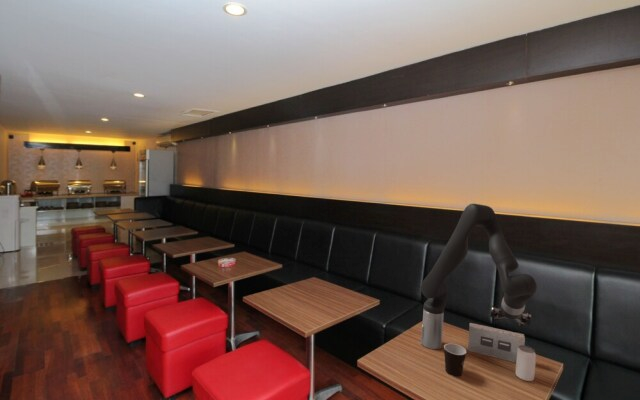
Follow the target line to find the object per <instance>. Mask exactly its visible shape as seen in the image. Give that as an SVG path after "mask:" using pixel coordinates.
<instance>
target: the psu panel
mask: <svg viewBox="0 0 640 400" xmlns="http://www.w3.org/2000/svg"><path fill="white" fill-rule="evenodd" d="M468 326H469V327H468V328H469V329H468V342H467V343H468V344H467V351H468V352H472V353H476V354H479V355H480V354H481V355H483V356H488V357H492V358H495V359H500V360H505V361H506V362H507V361H508V362H511V363H515V364H516V359H517V350H518V348H519V346H520V345H524V346H525V343H526V341H525V340H526V338H525V334H524V333H520V332H515V331H514V332H513V331H510V330H505V329H500V328H495V327H491V326H487V325H482V324H477V323H473V322H469V325H468Z"/></svg>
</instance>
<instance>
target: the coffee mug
mask: <svg viewBox="0 0 640 400" xmlns="http://www.w3.org/2000/svg"><path fill="white" fill-rule="evenodd" d="M443 349H444V365H445V372H446V374H448V375H449V376H452V377H455V378H457V377H458V378H459V377H461V376H462V375H463V369H464V366H465V362H466V356H467V350H466V348H465V347H464V346H461V345H460V344H456V343H446V344H444V345H443Z"/></svg>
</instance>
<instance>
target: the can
mask: <svg viewBox="0 0 640 400" xmlns="http://www.w3.org/2000/svg"><path fill="white" fill-rule="evenodd" d="M536 359H537V355H536V351H535V349H534V348H532V346H531V347H530V346H529V345H525V344H524V345H520V346H519V348H518V350H517V359H516V363H515V375H516V376H517V377H518V379H520V380H523V381H525V382H533V381H534V380H535V373H536Z"/></svg>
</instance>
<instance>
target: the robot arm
mask: <svg viewBox="0 0 640 400" xmlns="http://www.w3.org/2000/svg"><path fill="white" fill-rule="evenodd" d="M474 227H478V228H480V227H481V228H483V231H485V233H486V234H487V237H488V249H489V251H488V252H489V254H490V256H491V259H492V260H493V262H494V263H493V264H495V266H496V269H497V271H498V274H499V278H500V285H501V289H502V292H503V293H504V295H503V298H502V299H501V305H500V307H499V308H496V306H495V305H491V307H490V310H489V317H490V318H493V320H494V321H495V323H498V322H499V319H500V320H503V319H509V320H514V321H516V322H517V323H518V327H520V328H522V327H523V326H525V324H526V325H531V322H532V313H531V312H528V311H527V313H524V311H525V308H526V303H527V301H528V300H530V299H531V298H532V297H533V296H534V295H535V294H536V292H537V287H538V286H537V281H536V279H535V278H534V277H533V276H531V274H527V273H520V274H516V275H512V276H511V275H509V274H510V273H512V272H515V271H516V270H517V269H518V268H519V263H518V261H517V258H516V257H515V256H514V255H515V254H513V252H512V250H511V249H510V247H509V244H508V243H507V241H506V239H505V236H504V233H503V231H502V228H501V226H500V223H499V221H498V218H497V214H496V213H495V211H494V209H493V208H492V207H490V206H489V205H485V204H479V203H470V204H468V205H467V206H466V207H465V208H464V210H463V211H462V213H461V215H460V218H459V219H458V222H457V225H456V227H455V229H454V231H453V233H452V234H451V236H450V237H449V240H448V242H447V243H446V245H445V246H444V248H443V249H442V252H441V254H440V255H439V256H438V258H437V261H435V264H434V266H433V267H432V269H431V270H430V271H429V273H428V274H427V276H426V277H425V278H424V279H423V280H422V283H421V286H420V288H421V293H422V295H423V296H424V298H427V299H426V301H424V303H423V309H422V311H423V313H422V324H421V336H420V337H421V338H420V345H421V346H424V347H426V348H427V349H430V350H431V349H432V350H440V349H441V348H442V345H443V330H444V311H445V308H446V305H447V298H448V284H447V282H446V278H448V277H449V276H450V275H451V274H452V273H454V272H455V271H456V270H457V269H458V268H459V267H460V266H461V265H462V263H463V261H464V260H465V259H466V257H467V255H468V251H469V243H468V242H469V241H468V238H469V236H470V234H471V232H472V230H473V229H474Z"/></svg>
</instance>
